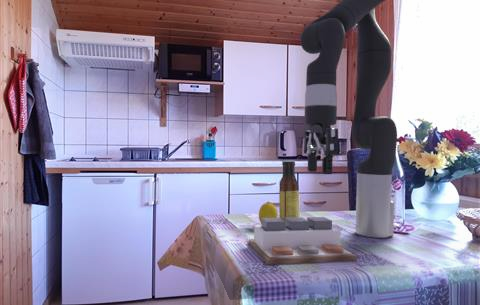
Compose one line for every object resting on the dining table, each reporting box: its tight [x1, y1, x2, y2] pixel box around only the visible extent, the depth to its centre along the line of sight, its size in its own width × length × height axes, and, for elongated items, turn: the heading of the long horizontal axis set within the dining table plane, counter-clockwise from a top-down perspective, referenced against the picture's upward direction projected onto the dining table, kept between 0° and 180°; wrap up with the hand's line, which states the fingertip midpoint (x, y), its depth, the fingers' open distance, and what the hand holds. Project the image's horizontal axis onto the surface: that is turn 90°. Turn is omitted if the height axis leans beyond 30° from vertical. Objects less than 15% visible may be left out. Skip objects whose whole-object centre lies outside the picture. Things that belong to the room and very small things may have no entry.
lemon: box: [258, 201, 279, 223], centre depth 103 cm, size 6×6×8 cm
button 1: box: [306, 216, 333, 230], centre depth 84 cm, size 4×4×4 cm
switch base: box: [248, 238, 358, 266], centre depth 81 cm, size 20×16×2 cm
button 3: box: [260, 217, 285, 231], centre depth 81 cm, size 4×4×4 cm
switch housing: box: [253, 224, 342, 251], centre depth 83 cm, size 19×8×4 cm, turn 102°
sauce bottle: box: [278, 160, 300, 221], centre depth 112 cm, size 7×6×20 cm
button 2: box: [285, 216, 309, 230], centre depth 83 cm, size 4×4×4 cm
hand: (319, 172), depth 84 cm, fingers open, 8 cm apart
